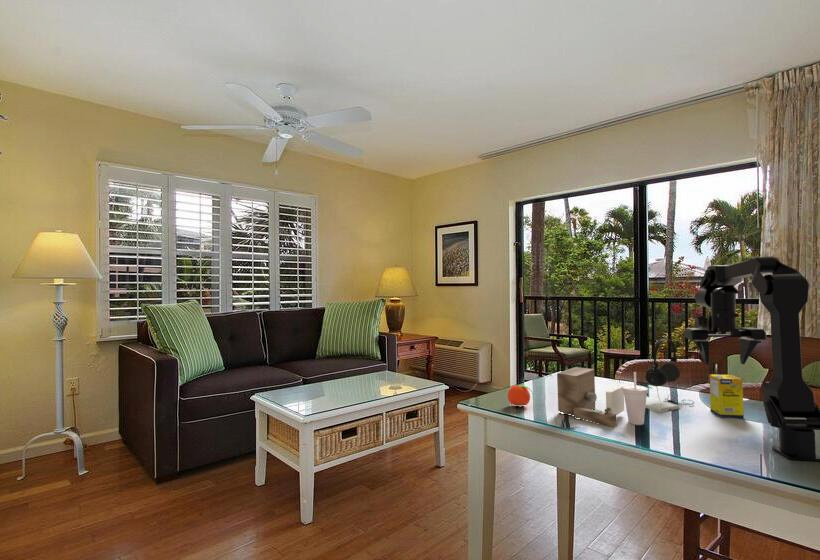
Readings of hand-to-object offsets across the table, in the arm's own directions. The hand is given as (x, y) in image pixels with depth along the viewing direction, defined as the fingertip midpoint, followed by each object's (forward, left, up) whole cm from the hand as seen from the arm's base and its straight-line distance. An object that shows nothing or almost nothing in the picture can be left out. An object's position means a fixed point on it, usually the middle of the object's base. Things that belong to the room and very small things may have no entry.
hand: (724, 364), depth 122 cm
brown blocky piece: (-3, +36, -15) cm, 39 cm away
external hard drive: (+9, +17, -15) cm, 24 cm away
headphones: (+12, +9, -15) cm, 21 cm away
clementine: (+3, +56, -15) cm, 58 cm away
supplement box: (+1, -1, -15) cm, 15 cm away
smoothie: (-9, +26, -15) cm, 32 cm away
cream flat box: (-7, +32, -13) cm, 35 cm away
